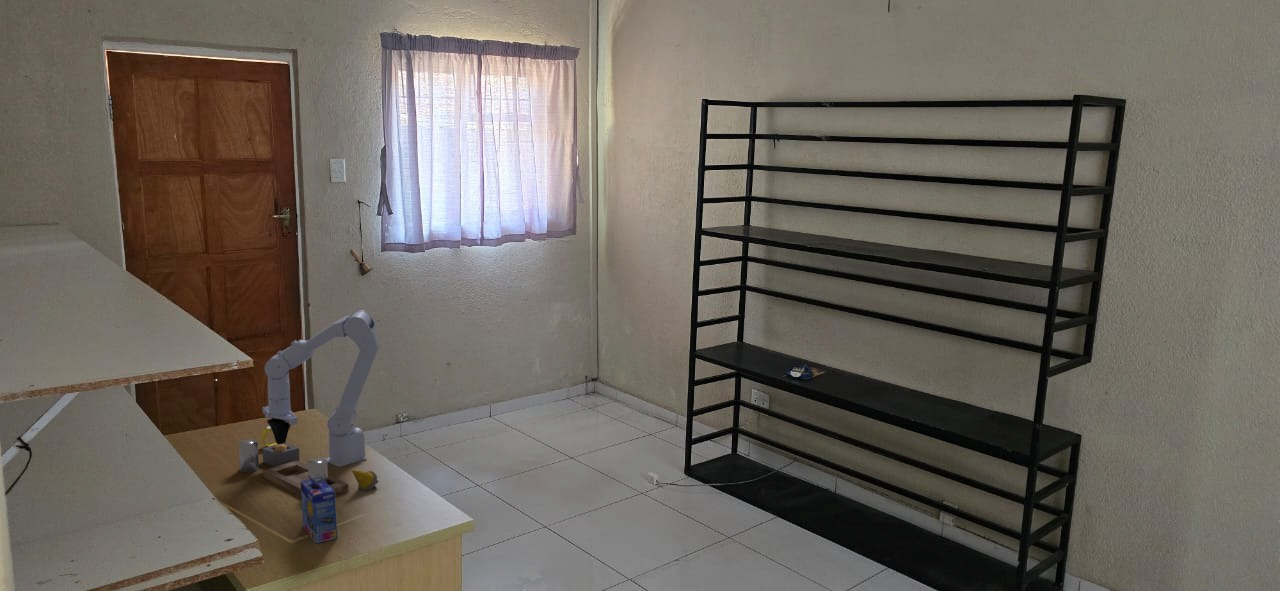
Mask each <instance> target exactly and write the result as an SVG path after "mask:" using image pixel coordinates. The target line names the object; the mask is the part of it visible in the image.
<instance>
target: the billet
mask: <svg viewBox="0 0 1280 591" xmlns="http://www.w3.org/2000/svg"><path fill="white" fill-rule="evenodd" d="M307 465H308V480H311V479H310V478H309V476H310V477H311V478H312V479H316V478H320V477H321V478H323V479H324V480H325V481H326V482H327V484H328V475H329V472H328V471H329V470H328V462H327V460H326V459H325V458H323V457H322V458H320V457H319V458H312V459H310V460H308V461H307Z"/></svg>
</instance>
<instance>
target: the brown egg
mask: <svg viewBox="0 0 1280 591" xmlns="http://www.w3.org/2000/svg"><path fill="white" fill-rule="evenodd" d="M286 449H287V445H285V444H279V445H276V446H275V451H278V452H279V451H283V450H286Z"/></svg>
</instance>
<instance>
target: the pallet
mask: <svg viewBox="0 0 1280 591" xmlns="http://www.w3.org/2000/svg"><path fill="white" fill-rule="evenodd" d="M262 474H263V478H264V479H265V480H268V481H270V482H272V483H274V484H276V485H277V486H279V487H282V488H284V489H286V490H288V491H290V492H292V493H294V494H296V495H298V496H300V497H302V495H301V482H302V481H305V480H308V464H305V463H303V462H301V461H300V460H299V461H293V462H290V463H287V464H283V465H280V466H276V467H273V466H272V467H269V468H266V469H263V473H262ZM328 485H329V486H331V487H332V488H333V489H334V490H335V497H336V496H339V495H342V494H344V493H348V492H349V483H347V482H345V481H344V480H340V479H338V478H336V477H334V476H332V475H330V474H328Z"/></svg>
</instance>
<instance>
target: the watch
mask: <svg viewBox="0 0 1280 591" xmlns="http://www.w3.org/2000/svg"><path fill="white" fill-rule="evenodd" d="M269 432H273V431H272V429H271V427H270V426H269V425H268V426H266V428H265V429H264V431H263V432H262V433H261V435H260V436H261V437H260V438H261V442H262V445H264V446H266V447H269V446H273V445H276V444H277V443H276V442H274V443H271V444H267V443H266V442H265V436H266V435H267V433H269Z"/></svg>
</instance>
